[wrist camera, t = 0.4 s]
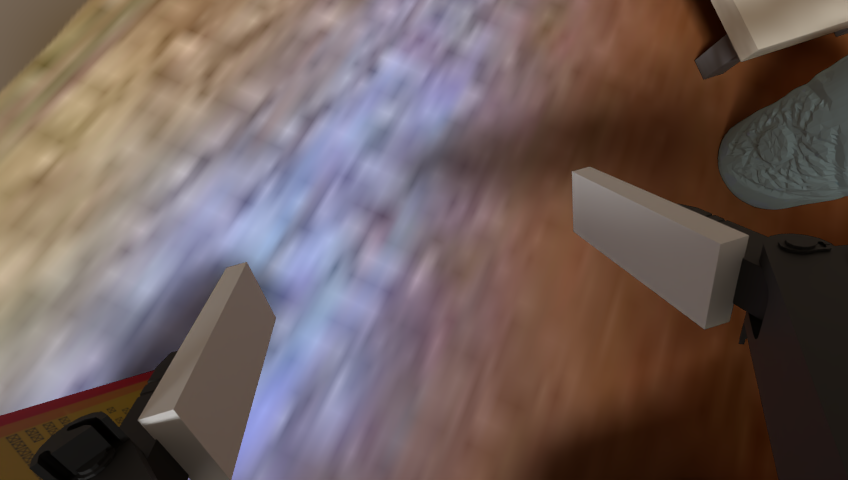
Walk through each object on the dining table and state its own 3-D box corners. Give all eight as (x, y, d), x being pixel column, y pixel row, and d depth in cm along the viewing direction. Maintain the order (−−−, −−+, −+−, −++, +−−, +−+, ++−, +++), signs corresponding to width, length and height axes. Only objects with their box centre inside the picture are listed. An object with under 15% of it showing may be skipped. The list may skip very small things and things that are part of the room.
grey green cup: (688, 172, 33) (842, 104, 21) (744, 88, 34) (919, -22, 22) (788, 239, 32) (1006, 209, 20) (840, 151, 33) (1075, 73, 21)
